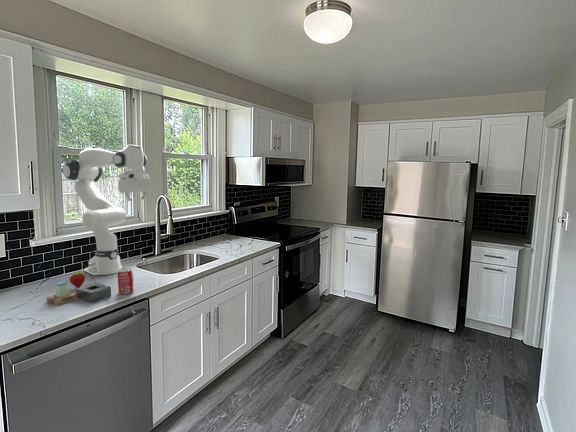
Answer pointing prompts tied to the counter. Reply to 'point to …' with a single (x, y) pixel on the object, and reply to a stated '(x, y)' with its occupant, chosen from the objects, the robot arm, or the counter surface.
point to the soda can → (125, 281)
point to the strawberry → (77, 279)
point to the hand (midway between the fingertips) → (136, 200)
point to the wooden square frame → (61, 299)
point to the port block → (93, 292)
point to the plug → (61, 289)
